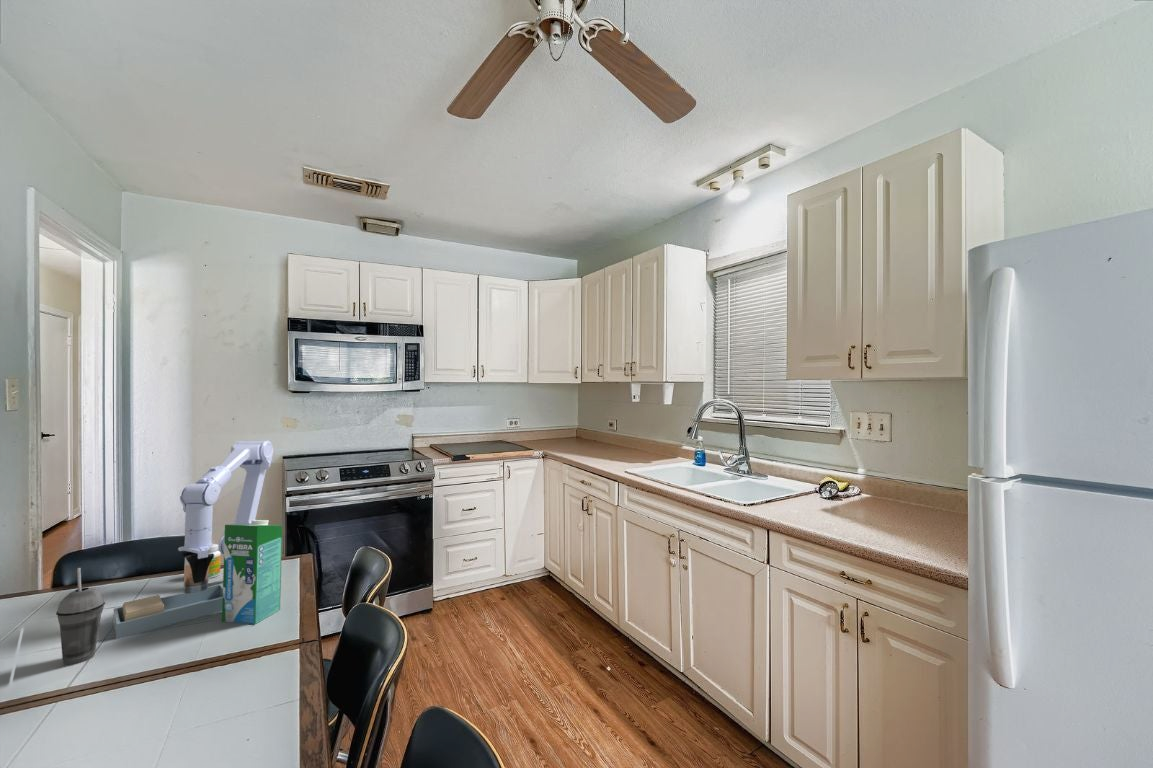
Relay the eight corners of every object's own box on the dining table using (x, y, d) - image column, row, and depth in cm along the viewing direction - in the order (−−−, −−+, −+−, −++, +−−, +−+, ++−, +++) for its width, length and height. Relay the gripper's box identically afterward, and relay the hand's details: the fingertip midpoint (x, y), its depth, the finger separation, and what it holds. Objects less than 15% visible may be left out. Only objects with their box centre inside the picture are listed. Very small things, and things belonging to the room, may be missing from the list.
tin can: (206, 584, 128) (207, 551, 128) (209, 589, 124) (210, 555, 125) (182, 589, 124) (183, 555, 125) (184, 595, 121) (185, 560, 121)
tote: (221, 597, 133) (221, 583, 133) (230, 610, 125) (231, 595, 125) (113, 624, 117) (113, 608, 117) (116, 641, 109) (116, 624, 109)
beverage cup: (70, 673, 96) (74, 575, 97) (44, 669, 98) (48, 573, 98) (111, 654, 103) (115, 563, 104) (86, 651, 105) (90, 561, 105)
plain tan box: (159, 613, 122) (159, 594, 122) (163, 624, 116) (164, 604, 116) (121, 622, 117) (122, 602, 117) (124, 634, 111) (125, 613, 111)
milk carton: (280, 609, 126) (282, 516, 127) (254, 625, 117) (257, 525, 118) (249, 607, 127) (252, 515, 128) (221, 623, 118) (224, 524, 119)
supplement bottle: (206, 580, 146) (207, 549, 146) (194, 578, 148) (195, 547, 148) (224, 574, 151) (225, 544, 152) (212, 572, 153) (213, 542, 153)
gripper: (175, 526, 127) (173, 576, 127) (183, 536, 117) (182, 591, 117) (207, 521, 132) (206, 569, 132) (218, 531, 122) (216, 583, 122)
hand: (197, 579), depth 125 cm, fingers closed on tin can, 5 cm apart
